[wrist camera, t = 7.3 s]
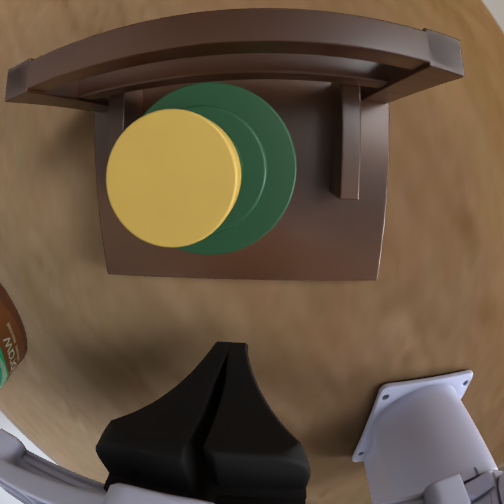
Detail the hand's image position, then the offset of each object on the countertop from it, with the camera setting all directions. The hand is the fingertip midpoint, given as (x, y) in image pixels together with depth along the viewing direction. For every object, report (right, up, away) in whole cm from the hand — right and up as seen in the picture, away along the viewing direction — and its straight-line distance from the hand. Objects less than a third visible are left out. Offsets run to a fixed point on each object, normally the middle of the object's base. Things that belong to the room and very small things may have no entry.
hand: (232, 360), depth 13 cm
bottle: (0, +9, 0) cm, 9 cm away
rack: (0, +9, +1) cm, 9 cm away
